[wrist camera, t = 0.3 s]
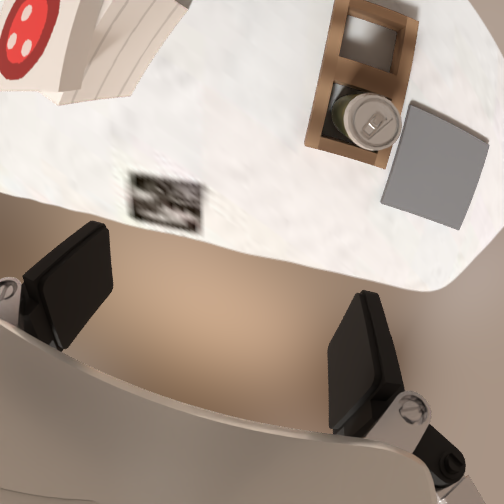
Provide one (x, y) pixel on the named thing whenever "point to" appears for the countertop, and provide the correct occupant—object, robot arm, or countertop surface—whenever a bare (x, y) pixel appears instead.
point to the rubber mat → (434, 169)
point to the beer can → (367, 120)
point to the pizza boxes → (81, 45)
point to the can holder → (361, 75)
